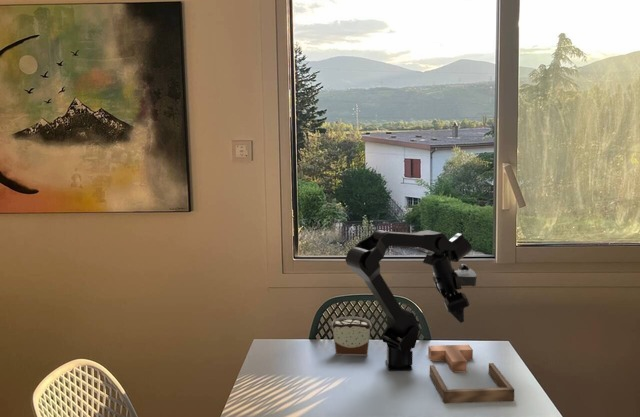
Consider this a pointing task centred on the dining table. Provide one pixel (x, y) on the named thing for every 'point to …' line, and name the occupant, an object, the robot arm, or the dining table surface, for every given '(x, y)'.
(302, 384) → the dining table surface
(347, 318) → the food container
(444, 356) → the terracotta T block
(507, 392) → the walnut bay
